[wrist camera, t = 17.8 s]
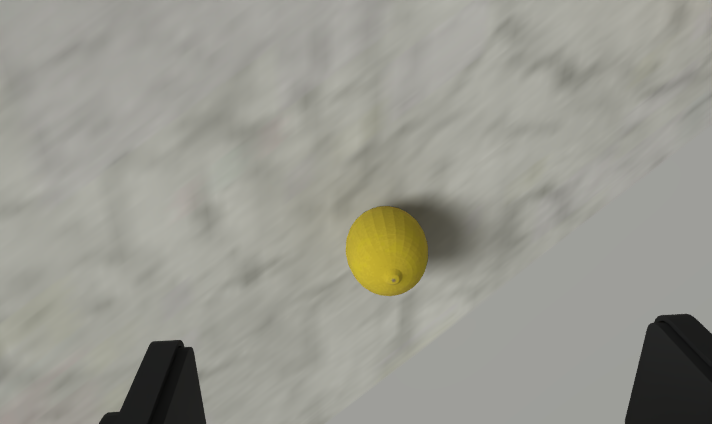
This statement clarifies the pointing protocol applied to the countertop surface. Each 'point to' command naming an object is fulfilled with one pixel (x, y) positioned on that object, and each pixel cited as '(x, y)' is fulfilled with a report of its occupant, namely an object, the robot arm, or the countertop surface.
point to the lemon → (387, 251)
